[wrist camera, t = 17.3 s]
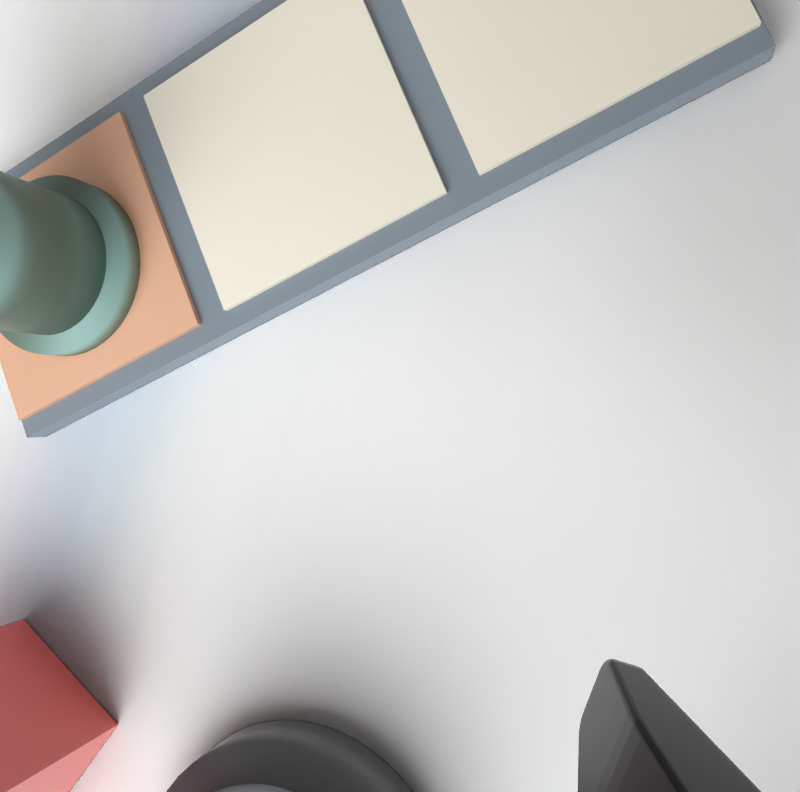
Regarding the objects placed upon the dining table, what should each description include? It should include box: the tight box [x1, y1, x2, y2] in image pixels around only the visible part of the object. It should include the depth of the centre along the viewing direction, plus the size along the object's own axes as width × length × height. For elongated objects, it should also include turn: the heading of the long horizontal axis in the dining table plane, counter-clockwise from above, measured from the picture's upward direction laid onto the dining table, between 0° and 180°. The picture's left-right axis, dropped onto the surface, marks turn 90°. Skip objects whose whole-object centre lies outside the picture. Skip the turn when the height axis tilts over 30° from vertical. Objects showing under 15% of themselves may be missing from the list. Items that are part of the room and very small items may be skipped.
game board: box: [0, 0, 776, 437], centre depth 22 cm, size 24×9×1 cm, turn 113°
